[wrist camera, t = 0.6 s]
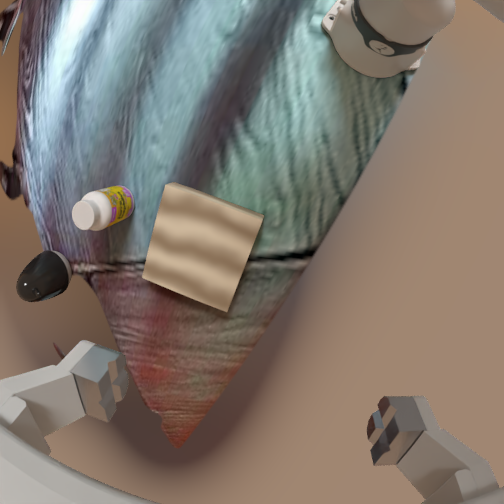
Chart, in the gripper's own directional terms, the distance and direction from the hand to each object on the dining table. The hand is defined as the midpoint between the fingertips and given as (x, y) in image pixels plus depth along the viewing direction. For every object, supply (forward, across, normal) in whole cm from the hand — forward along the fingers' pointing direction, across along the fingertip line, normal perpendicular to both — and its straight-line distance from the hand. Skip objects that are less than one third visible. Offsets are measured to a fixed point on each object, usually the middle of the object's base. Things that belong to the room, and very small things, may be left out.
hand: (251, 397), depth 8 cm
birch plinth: (+45, +12, +10) cm, 47 cm away
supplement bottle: (+45, +29, +5) cm, 54 cm away
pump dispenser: (+45, +46, +22) cm, 68 cm away
